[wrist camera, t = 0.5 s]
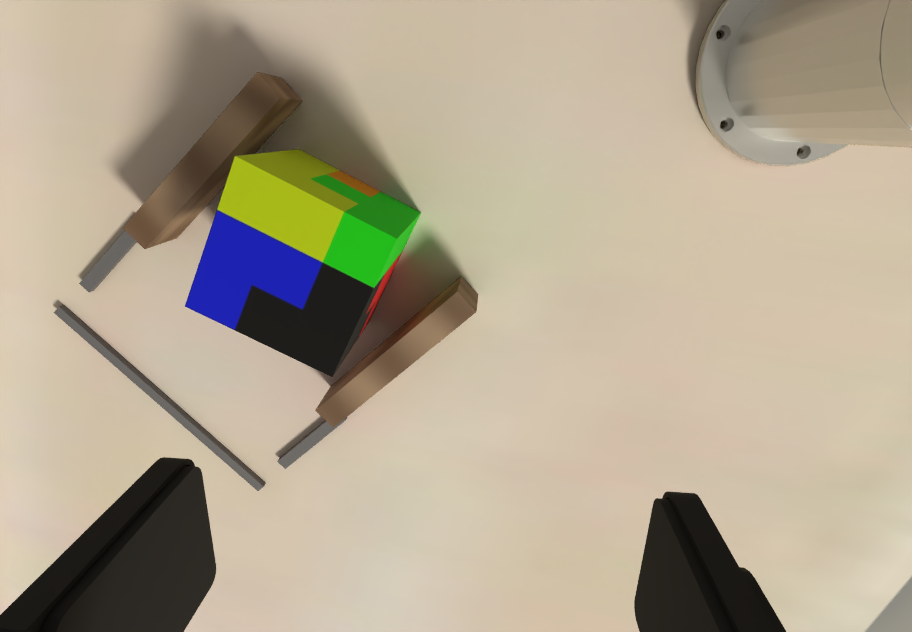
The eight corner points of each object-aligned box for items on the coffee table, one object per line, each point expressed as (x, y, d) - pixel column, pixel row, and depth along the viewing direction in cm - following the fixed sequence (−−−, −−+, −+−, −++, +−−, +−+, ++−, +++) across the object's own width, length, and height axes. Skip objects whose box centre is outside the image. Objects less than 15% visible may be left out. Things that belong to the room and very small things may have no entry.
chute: (281, 77, 37) (257, 72, 33) (478, 295, 41) (476, 311, 37) (156, 218, 41) (122, 228, 37) (347, 402, 45) (333, 427, 42)
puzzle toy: (255, 266, 42) (185, 306, 32) (299, 149, 38) (234, 155, 29) (368, 322, 43) (332, 376, 33) (421, 212, 39) (397, 238, 30)
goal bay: (139, 217, 41) (135, 218, 41) (347, 417, 46) (345, 420, 45) (58, 310, 44) (53, 312, 44) (260, 487, 49) (258, 491, 49)
